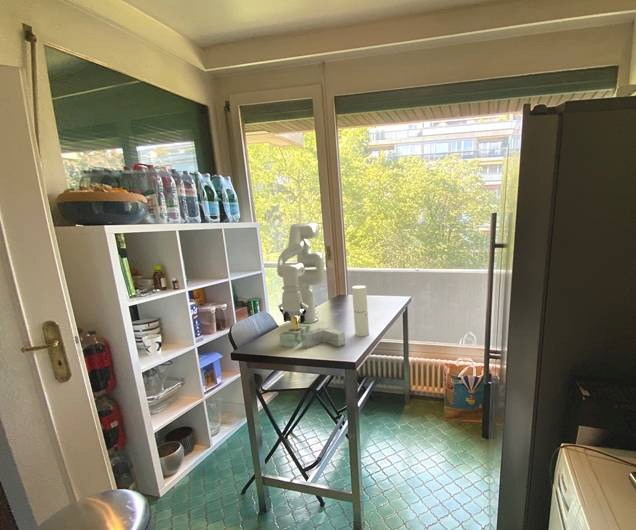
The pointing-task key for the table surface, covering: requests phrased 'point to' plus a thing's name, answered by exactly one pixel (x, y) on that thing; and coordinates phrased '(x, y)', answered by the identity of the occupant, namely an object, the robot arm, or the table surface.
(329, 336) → the v block
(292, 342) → the pale green slotted holder
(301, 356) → the table surface
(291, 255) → the robot arm
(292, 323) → the axle
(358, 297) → the cylindrical container
